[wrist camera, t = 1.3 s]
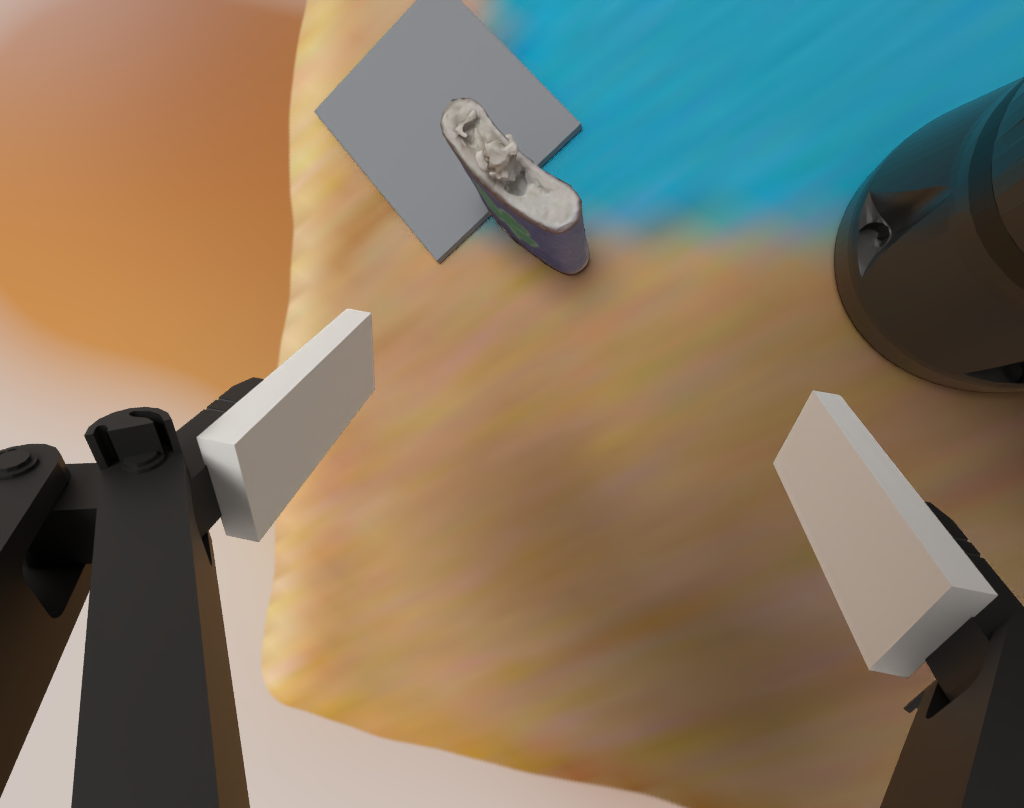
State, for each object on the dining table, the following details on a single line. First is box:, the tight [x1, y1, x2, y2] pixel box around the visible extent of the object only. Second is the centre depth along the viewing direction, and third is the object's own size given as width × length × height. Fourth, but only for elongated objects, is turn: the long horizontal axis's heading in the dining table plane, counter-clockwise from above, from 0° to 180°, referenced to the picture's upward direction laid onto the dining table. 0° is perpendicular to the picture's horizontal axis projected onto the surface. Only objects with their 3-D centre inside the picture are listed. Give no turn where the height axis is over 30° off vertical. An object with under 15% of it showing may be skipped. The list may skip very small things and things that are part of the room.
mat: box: [314, 0, 582, 263], centre depth 35 cm, size 16×13×1 cm
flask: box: [440, 98, 589, 275], centre depth 27 cm, size 9×3×11 cm, turn 45°
